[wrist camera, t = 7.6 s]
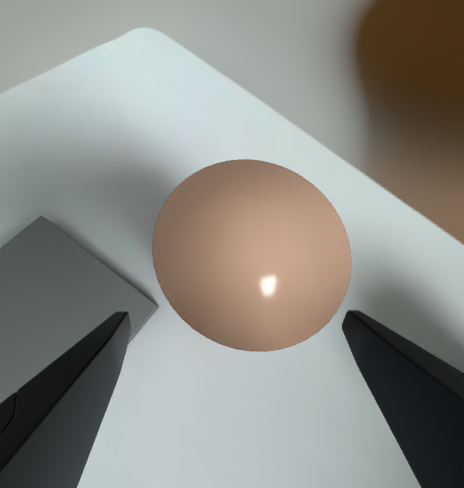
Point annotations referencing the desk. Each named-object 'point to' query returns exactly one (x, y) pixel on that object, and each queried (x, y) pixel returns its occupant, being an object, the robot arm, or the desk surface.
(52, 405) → the robot arm
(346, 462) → the desk surface
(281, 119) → the desk surface
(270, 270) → the tan domed cylinder
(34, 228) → the slate mat
